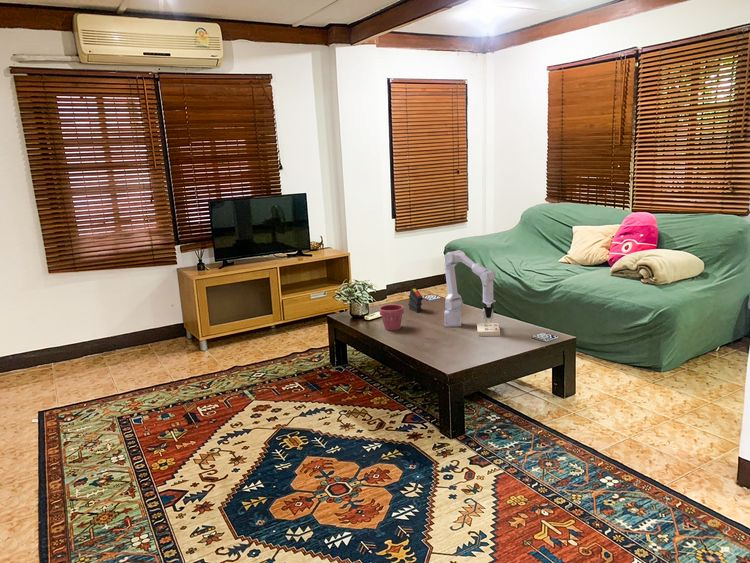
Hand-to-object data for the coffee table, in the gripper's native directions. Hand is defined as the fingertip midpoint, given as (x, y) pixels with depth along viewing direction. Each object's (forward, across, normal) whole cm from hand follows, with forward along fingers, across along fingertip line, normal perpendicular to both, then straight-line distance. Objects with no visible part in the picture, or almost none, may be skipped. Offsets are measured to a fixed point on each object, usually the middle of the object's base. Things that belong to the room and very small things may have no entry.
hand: (488, 316), depth 312 cm
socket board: (+10, +4, 0) cm, 11 cm away
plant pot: (+10, +10, +55) cm, 57 cm away
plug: (+3, 0, 0) cm, 3 cm away
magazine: (+10, +46, +44) cm, 65 cm away
